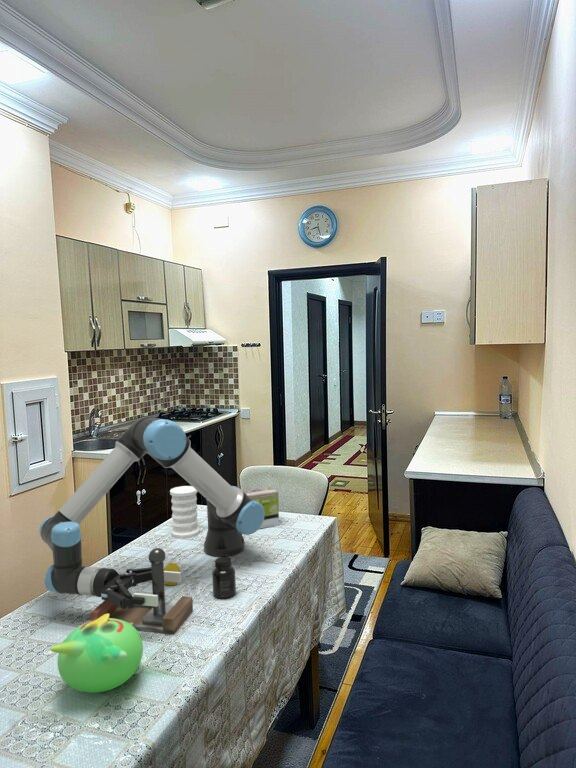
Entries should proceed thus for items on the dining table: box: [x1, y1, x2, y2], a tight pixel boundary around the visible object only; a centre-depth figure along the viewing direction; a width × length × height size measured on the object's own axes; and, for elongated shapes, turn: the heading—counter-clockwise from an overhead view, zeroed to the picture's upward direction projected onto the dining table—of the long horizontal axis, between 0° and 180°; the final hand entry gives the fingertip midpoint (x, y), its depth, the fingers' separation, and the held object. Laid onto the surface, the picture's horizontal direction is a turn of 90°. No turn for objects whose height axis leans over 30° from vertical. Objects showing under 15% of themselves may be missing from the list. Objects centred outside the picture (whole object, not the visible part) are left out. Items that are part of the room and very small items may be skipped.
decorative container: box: [169, 485, 201, 539], centre depth 209 cm, size 12×12×18 cm
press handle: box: [142, 547, 174, 627], centre depth 139 cm, size 6×8×20 cm
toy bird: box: [50, 613, 144, 694], centre depth 115 cm, size 18×17×15 cm
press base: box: [90, 595, 194, 636], centre depth 141 cm, size 24×12×6 cm, turn 77°
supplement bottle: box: [211, 556, 237, 601], centre depth 153 cm, size 7×7×12 cm
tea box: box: [241, 486, 280, 530], centre depth 216 cm, size 15×10×15 cm, turn 117°
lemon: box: [164, 562, 181, 587], centre depth 161 cm, size 6×6×8 cm
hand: (169, 588), depth 138 cm, fingers open, 13 cm apart
